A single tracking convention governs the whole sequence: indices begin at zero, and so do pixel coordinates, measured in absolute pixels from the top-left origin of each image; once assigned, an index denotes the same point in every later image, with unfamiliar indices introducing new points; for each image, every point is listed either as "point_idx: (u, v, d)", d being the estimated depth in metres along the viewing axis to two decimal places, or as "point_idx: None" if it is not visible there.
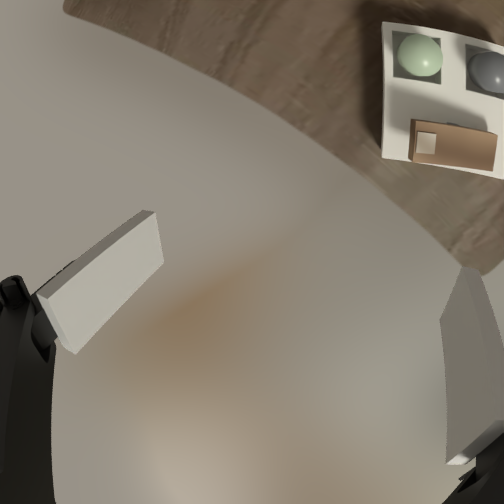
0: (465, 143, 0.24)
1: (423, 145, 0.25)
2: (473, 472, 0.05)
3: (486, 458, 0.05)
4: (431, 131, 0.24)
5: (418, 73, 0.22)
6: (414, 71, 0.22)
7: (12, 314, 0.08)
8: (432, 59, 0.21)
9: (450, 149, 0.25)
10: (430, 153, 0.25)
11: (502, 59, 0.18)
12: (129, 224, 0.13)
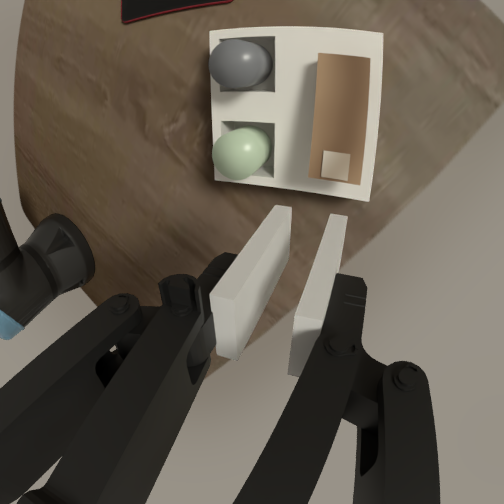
0: (334, 105, 0.21)
1: (338, 169, 0.22)
2: None
3: None
4: (320, 156, 0.23)
5: (256, 163, 0.25)
6: (254, 167, 0.26)
7: (171, 322, 0.08)
8: (237, 145, 0.25)
9: (344, 129, 0.21)
10: (349, 158, 0.22)
11: (215, 57, 0.22)
12: (273, 219, 0.13)
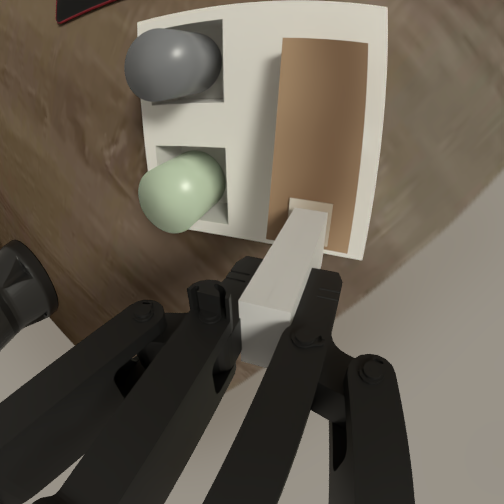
0: (308, 121, 0.13)
1: None
2: None
3: None
4: (285, 207, 0.15)
5: (194, 211, 0.18)
6: (193, 217, 0.18)
7: (198, 329, 0.08)
8: (167, 186, 0.17)
9: (324, 162, 0.14)
10: (331, 211, 0.14)
11: (132, 58, 0.14)
12: (294, 221, 0.13)
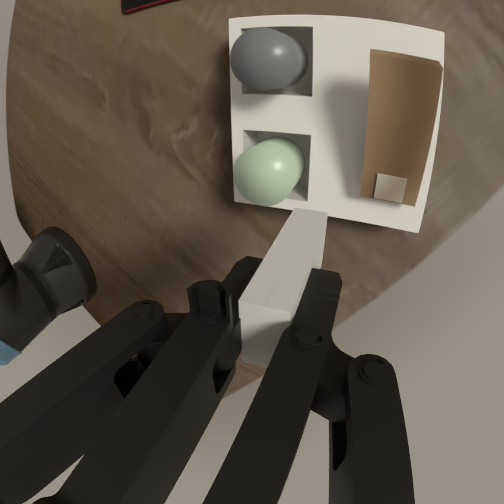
0: (392, 125, 0.16)
1: (393, 193, 0.19)
2: None
3: None
4: (374, 179, 0.19)
5: (289, 186, 0.20)
6: (287, 191, 0.21)
7: (199, 329, 0.08)
8: (266, 163, 0.20)
9: (402, 153, 0.17)
10: (406, 182, 0.18)
11: (238, 49, 0.17)
12: (294, 221, 0.13)
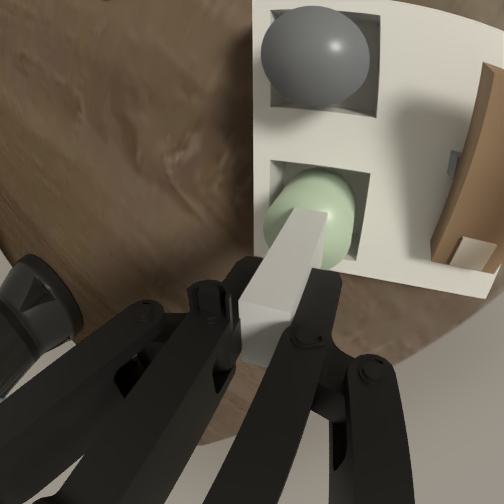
0: (499, 178, 0.09)
1: (474, 260, 0.13)
2: None
3: None
4: (456, 243, 0.13)
5: (346, 248, 0.14)
6: (342, 255, 0.14)
7: (199, 329, 0.08)
8: None
9: (500, 214, 0.10)
10: (493, 248, 0.12)
11: (275, 38, 0.10)
12: (294, 221, 0.13)
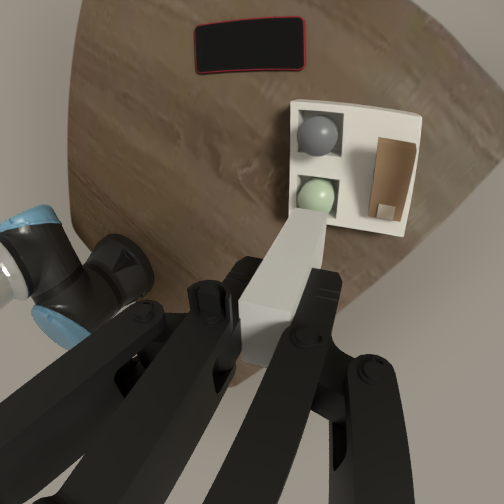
0: (387, 179, 0.31)
1: (387, 214, 0.34)
2: None
3: None
4: (376, 207, 0.34)
5: (330, 206, 0.36)
6: (329, 209, 0.37)
7: (198, 329, 0.08)
8: (317, 194, 0.36)
9: (392, 193, 0.32)
10: (394, 209, 0.33)
11: (302, 130, 0.31)
12: (294, 221, 0.13)
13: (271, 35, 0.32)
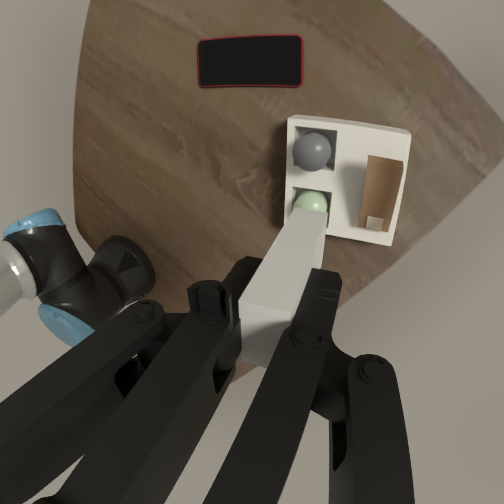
0: (376, 194, 0.34)
1: (375, 225, 0.37)
2: None
3: None
4: (365, 218, 0.37)
5: None
6: None
7: (199, 329, 0.08)
8: (311, 205, 0.39)
9: (381, 206, 0.35)
10: (382, 220, 0.36)
11: (297, 147, 0.34)
12: (294, 221, 0.13)
13: (271, 52, 0.35)
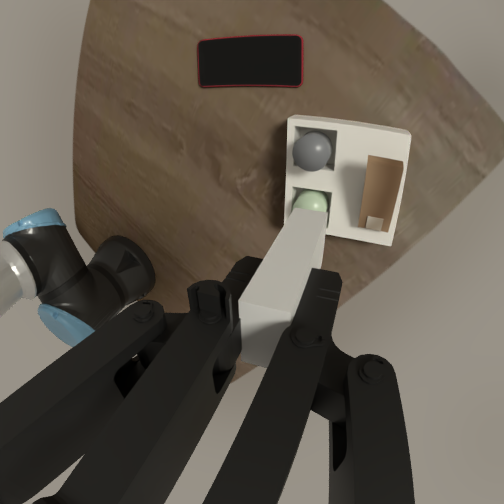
0: (376, 194, 0.34)
1: (375, 225, 0.37)
2: None
3: None
4: (365, 218, 0.37)
5: None
6: None
7: (199, 329, 0.08)
8: (311, 205, 0.39)
9: (381, 206, 0.35)
10: (382, 220, 0.36)
11: (297, 147, 0.34)
12: (294, 221, 0.13)
13: (271, 52, 0.35)
